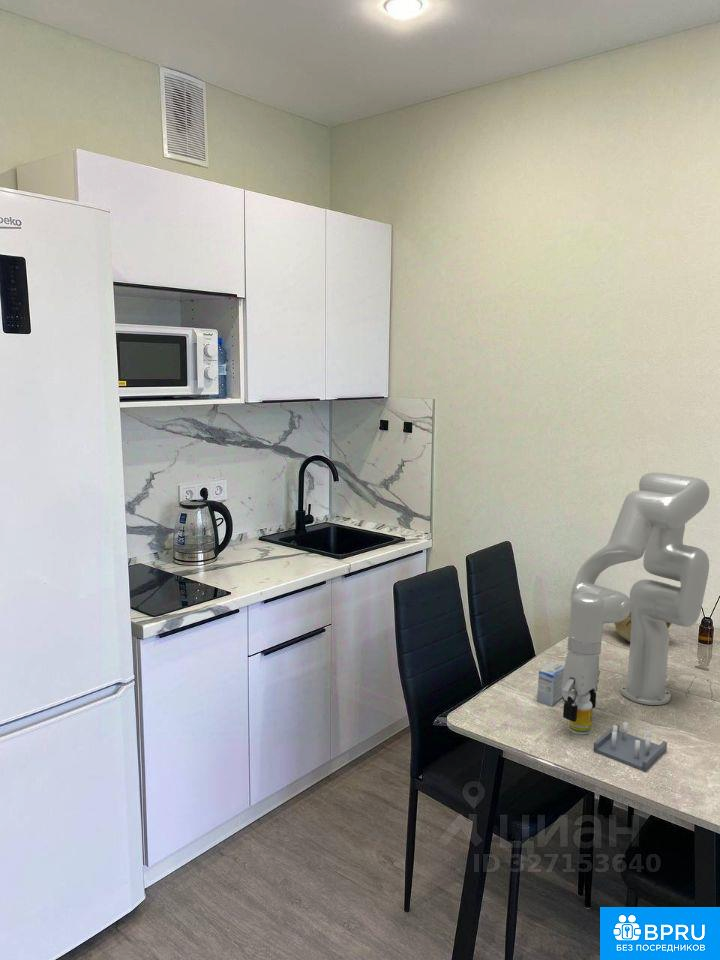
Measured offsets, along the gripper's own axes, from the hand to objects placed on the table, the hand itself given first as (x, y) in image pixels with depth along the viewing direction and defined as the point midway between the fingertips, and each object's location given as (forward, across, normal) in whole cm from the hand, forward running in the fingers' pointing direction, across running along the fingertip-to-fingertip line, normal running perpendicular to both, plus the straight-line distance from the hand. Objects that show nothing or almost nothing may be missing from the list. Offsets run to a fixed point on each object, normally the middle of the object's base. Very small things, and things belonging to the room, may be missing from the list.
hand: (579, 712), depth 174 cm
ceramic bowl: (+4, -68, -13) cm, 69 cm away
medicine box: (+5, -10, -13) cm, 17 cm away
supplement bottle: (+5, 0, 0) cm, 5 cm away
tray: (+4, 0, +13) cm, 14 cm away
